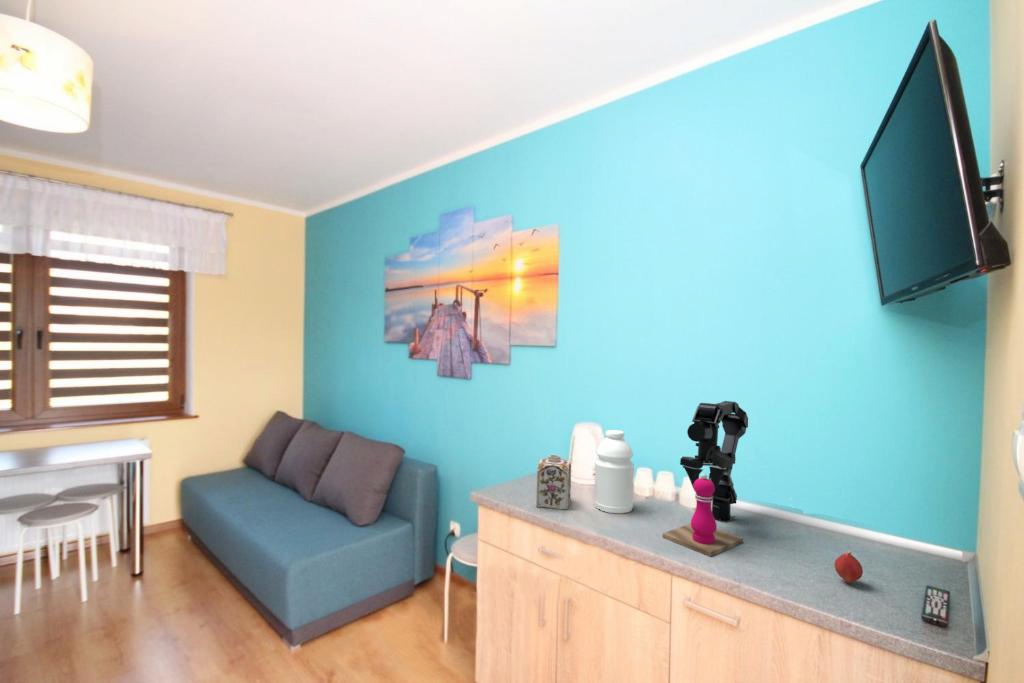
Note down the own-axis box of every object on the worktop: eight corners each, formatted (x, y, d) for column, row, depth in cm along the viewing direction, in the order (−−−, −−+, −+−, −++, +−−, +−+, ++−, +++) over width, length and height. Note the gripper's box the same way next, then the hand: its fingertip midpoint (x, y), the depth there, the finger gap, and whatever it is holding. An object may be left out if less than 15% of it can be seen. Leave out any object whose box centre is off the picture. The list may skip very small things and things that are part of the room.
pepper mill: (721, 541, 139) (721, 474, 139) (708, 547, 134) (709, 478, 135) (698, 533, 144) (699, 469, 145) (685, 539, 140) (686, 472, 140)
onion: (828, 577, 120) (829, 546, 120) (849, 576, 121) (849, 546, 121) (846, 589, 114) (847, 556, 114) (868, 588, 115) (868, 556, 115)
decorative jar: (535, 507, 169) (536, 458, 169) (540, 497, 180) (541, 451, 180) (568, 510, 166) (569, 460, 166) (571, 500, 177) (572, 453, 178)
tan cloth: (695, 525, 154) (695, 521, 154) (743, 542, 141) (743, 538, 141) (662, 537, 144) (662, 533, 144) (710, 556, 131) (710, 552, 131)
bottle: (638, 505, 172) (639, 430, 173) (626, 517, 161) (627, 436, 161) (602, 498, 180) (603, 426, 180) (588, 508, 168) (589, 431, 169)
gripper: (709, 444, 141) (706, 496, 140) (748, 446, 150) (745, 495, 148) (680, 438, 151) (677, 487, 150) (718, 441, 160) (716, 487, 158)
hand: (705, 489), depth 151 cm, fingers open, 9 cm apart
